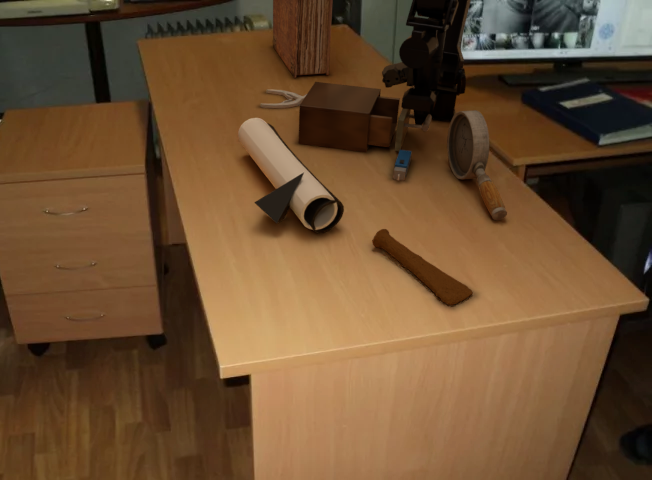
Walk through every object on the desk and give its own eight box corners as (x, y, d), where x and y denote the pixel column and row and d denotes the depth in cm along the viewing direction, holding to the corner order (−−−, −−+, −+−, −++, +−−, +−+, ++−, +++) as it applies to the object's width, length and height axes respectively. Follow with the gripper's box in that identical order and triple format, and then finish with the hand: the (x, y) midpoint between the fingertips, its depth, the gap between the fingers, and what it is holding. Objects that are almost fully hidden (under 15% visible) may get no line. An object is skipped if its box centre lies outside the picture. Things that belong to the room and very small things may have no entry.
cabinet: (377, 126, 163) (380, 88, 158) (366, 152, 152) (369, 113, 147) (313, 118, 166) (315, 81, 161) (298, 143, 155) (299, 105, 150)
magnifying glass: (519, 188, 124) (473, 96, 139) (503, 189, 124) (458, 97, 139) (497, 239, 135) (456, 147, 150) (481, 240, 134) (442, 148, 149)
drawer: (430, 129, 159) (435, 100, 156) (424, 154, 149) (428, 123, 145) (348, 119, 163) (350, 90, 159) (336, 143, 153) (338, 112, 149)
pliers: (266, 85, 178) (328, 89, 176) (266, 91, 179) (327, 95, 177) (260, 100, 170) (324, 105, 168) (260, 107, 171) (323, 111, 169)
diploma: (256, 166, 154) (205, 137, 146) (281, 129, 151) (231, 98, 143) (322, 253, 127) (265, 222, 119) (355, 210, 124) (298, 177, 116)
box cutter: (398, 160, 149) (400, 148, 148) (410, 161, 149) (411, 149, 147) (391, 181, 142) (393, 168, 140) (403, 183, 141) (405, 170, 140)
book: (329, 76, 188) (335, -50, 171) (294, 78, 186) (297, -48, 169) (304, 44, 208) (307, -70, 191) (272, 47, 206) (273, -69, 189)
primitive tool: (474, 294, 112) (477, 275, 110) (450, 308, 109) (453, 289, 107) (384, 241, 124) (386, 223, 122) (361, 252, 121) (362, 234, 119)
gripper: (394, 34, 153) (387, 105, 162) (379, 63, 139) (372, 139, 148) (448, 40, 151) (437, 111, 160) (438, 70, 136) (427, 147, 145)
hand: (418, 126), depth 153 cm, fingers closed, pressing on drawer
